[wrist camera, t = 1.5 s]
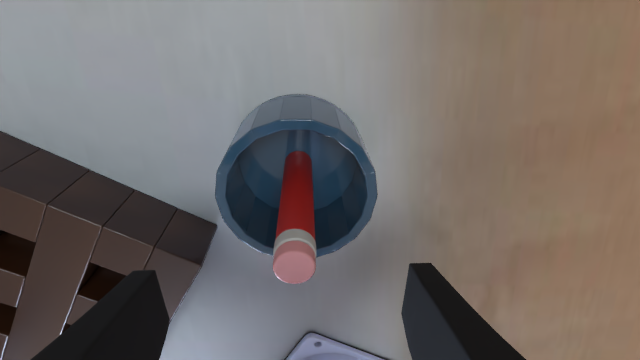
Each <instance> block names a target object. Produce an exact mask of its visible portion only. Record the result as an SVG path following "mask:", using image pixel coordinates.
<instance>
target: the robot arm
mask: <svg viewBox="0 0 640 360" xmlns="http://www.w3.org/2000/svg"><path fill="white" fill-rule="evenodd" d="M401 314H402V319H403V324H404V328H405V333H406V338H407V342H408V347H409V350H410V353H411V357H412V360H526V359H525V358H524V357H523V356H521V355H520V354H519V353H518V352H517V351H516V350H515V349H514V348H513V347H512V346H511V345H510V344H509V343H507V342H506V341H505V340H504V339H503V338H502V337H501V336H500V335H499V334H498V333H497V332H496V331H495V330H494V329H493V328H492V327H491V326H490V325H489V324H488V323H487V322H486V321H485V320H484V319H483V318H482V317H481V316H480V315H479V314H478V313H477V312H476V311H475V310H474V309H473V308H472V307H471V306H470V305H469V304H468V303H467V302H466V301H465V300H464V298H463V297H462V296H461V295H460V294H459V293H458V292H457V291H456V290H455V289H454V288H453V287H452V286H451V284H450V283H449V282H448V281H447V280H446V279H445V278H444V277H443V276H442V275H441V274H440V272H439V271H438V270H437V269H436V268H435V267H434V266H433V265H432V264H431V263H411V264H409V270H408V276H407V282H406V289H405V295H404V301H403V307H402V313H401ZM169 322H170V319H169V315H168V312H167V309H166V305H165V302H164V298H163V295H162V292H161V288H160V285H159V281H158V278H157V275H156V271H155V270H137V271H132V272H131V273H130V274H129V275H127V276H126V277H125V278H124V279H123V280H122V281H121V282H119V283H118V284H117V285H116V286H115V287H114V288H113V289H112V290H111V291H109V292H108V293H107V294H106V295H105V296H104V297H103V298H102V299H101V300H99V301H98V302H97V303H96V304H95V305H94V306H93V307H92V308H91V309H89V310H88V311H87V312H86V313H85V314H84V315H83V316H81V317H80V318H79V319H78V320H77V321H76V322H75V323H73V324H72V325H71V326H70V327H69V328H68V329H67V330H65V331H64V332H63V333H62V334H61V335H60V336H58V337H57V338H56V339H55V340H54V341H52V342H51V343H50V344H49V345H48V346H46V347H45V348H44V349H43V350H41V351H40V352H39V353H38V354H37V355H35V356H34V357H33V358H32V359H30V360H159V358H160V355H161V351H162V348H163V345H164V341H165V338H166V334H167V330H168V326H169ZM286 360H384V359H382V358H379V357H376V356H374V355H371V354H368V353H366V352H363V351H360V350H358V349H355V348H352V347H350V346H347V345H344V344H342V343H339V342H336V341H334V340H331V339H328V338H326V337H323V336H320V335H318V334H315V333H309V334H307V335H306V336H305V337H304V338H303V339H302V340H301V342H300V343H299V344H298V345H297V346H296V348H295V349H294V350H293V351H292V352H291V354H290V355H289V356H288V357H287V358H286Z"/></svg>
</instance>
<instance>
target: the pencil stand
mask: <svg viewBox="0 0 640 360" xmlns="http://www.w3.org/2000/svg"><path fill="white" fill-rule="evenodd" d="M216 228H217V225H215V224H213V223H210V222H208V221H206V220H203V219H201V218H199V217H197V216H194V215H192V214H190V213H187V212H185V211H183V210H180V209H177V208H176V207H174V206H171V205H169V204H167V203H164V202H162V201H160V200H157V199H155V198H153V197H150V196H148V195H146V194H144V193H141V192H139V191H137V190H135V191H134V189H132V188H129V187H127V186H125V185H123V184H120V183H118V182H116V181H113V180H111V179H109V178H106V177H104V176H102V175H99V174H97V173H95V172H92V171H89V169H86V168H84V167H82V166H79V165H77V164H75V163H72V162H70V161H68V160H65V159H63V158H61V157H59V156H56V155H54V154H52V153H49V152H47V151H45V150H42V149H39V148H37V147H35V146H33V145H30V144H28V143H26V142H23V141H21V140H19V139H16V138H14V137H12V136H10V135H7V134H5V133H3V132H0V360H30V359H32V358H33V357H34V356H35V355H37V354H38V353H39V352H40V351H41V350H43V349H44V348H45V347H46V346H48V345H49V344H50V343H51V342H52V341H54V340H55V339H56V338H57V337H58V336H60V335H61V334H62V333H63V332H64V331H65V330H67V329H68V328H69V327H70V326H71V325H72V324H73V323H75V322H76V321H77V320H78V319H79V318H80V317H81V316H83V315H84V314H85V313H86V312H87V311H88V310H89V309H91V308H92V307H93V306H94V305H95V304H96V303H97V302H98V301H99V300H101V299H102V298H103V297H104V296H105V295H106V294H107V293H108V292H109V291H111V290H112V289H113V288H114V287H115V286H116V285H117V284H118V283H119V282H121V281H122V280H123V279H124V278H125V277H126V276H127V275H129V274H130V273H131V272H132V271H137V270H155V271H156V275H157V278H158V281H159V285H160V288H161V292H162V295H163V298H164V302H165V305H166V309H167V312H168V315H169V319H170V322H171V320H172V318H173V316H174V315H175V313H176V311H177V309H178V307H179V306H180V304H181V302H182V300H183V299H184V297H185V295H186V293H187V292H188V290H189V288H190V286H191V285H192V283H193V281H194V279H195V278H196V276H197V274H198V272H199V271H200V269H201V267H202V265H203V262H204V260H205V257H206V254H207V252H208V249H209V247H210V244H211V241H212V239H213V236H214V234H215V231H216ZM170 322H169V323H170Z"/></svg>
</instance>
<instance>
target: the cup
mask: <svg viewBox="0 0 640 360" xmlns="http://www.w3.org/2000/svg"><path fill="white" fill-rule="evenodd" d="M294 151H302V152H305V153H307V154H308V155H309V156H310V158H311V160H312V177H313V200H314V223H315V242H316V257H319V256H322V255H326V254H329V253H332V252H335V251H337V250H338V249H340V248H341V247H343V246H344V245H346V244H348V243H349V242H351V241H352V240H354V239H355V238H356V237H357V236H358V234H359V233H360V232H361V231H362V229H363V228H364V227H365V225H366V224H367V223H368V222H369V220H370V218H371V216H372V213H373V209H374V206H375V203H376V200H377V195H378V194H377V184H376V174H375V169H374V167H373V165H372V162H371V160H370V157H369V155H368V152H367V150H366V147H365V145H364V142H363V140H362V138H361V136H360V134H359V132H358V130H357V128H356V126H355V125H354V123H353V122H352V120H351V119H350V118H349V117H348V116H347V115H346V114H345V113H344V112H343V111H342V110H341V109H340V108H338V107H337V106H335V105H334V104H332V103H330V102H328V101H326V100H324V99H321V98H318V97H315V96H310V95H301V94H293V95H285V96H279V97H276V98H273V99H270V100H268V101H266V102H264V103H262V104H261V105H259V106H258V107H256V108H255V109H254V110H253V111H252V112H251V113H249V114H248V116H247V117H246V118H245V119H244V120H243V122H242V123H241V125H240V127H239V128H238V130H237V132H236V134H235V136H234V138H233V140H232V142H231V144H230V146H229V148H228V150H227V152H226V154H225V156H224V158H223V160H222V162H221V164H220V166H219V168H218V170H217V173H216V189H215V198H216V201H217V204H218V207H219V210H220V212H221V215H222V218H223V220H224V222H225V223H226V224H227V225H228V227H229V228H230V229H231V230H232V231H233V233H234V234H235V235H236V236H237V237H238V239H240V240H241V241H243V242H244V243H246V244H247V245H249V246H251V247H252V248H254V249H256V250H257V251H259V252H261V253H264V254H268V255H271V256H273V251H274V243H275V239H276V231H277V223H278V214H279V206H280V198H281V189H282V181H283V173H284V165H285V159H286V157H287V156H288V155H289V154H290V153H292V152H294Z"/></svg>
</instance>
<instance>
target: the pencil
mask: <svg viewBox="0 0 640 360" xmlns="http://www.w3.org/2000/svg"><path fill="white" fill-rule="evenodd" d="M273 257H274V261H273V270H274V273H275V275H276V276H277V277H278V278H279V279H280V280H282V281H284V282H286V283H291V284H298V283H302V282H305V281H307V280H308V279H310V278H311V277H312V275H313V274H314V272H315V269H316V261H315V259H316V242H315V223H314V200H313V177H312V160H311V158H310V156H309V155H308V154H307V153H305V152H302V151H294V152H292V153H290V154H289V155H288V156H287V157H286V159H285V165H284V173H283V181H282V189H281V198H280V206H279V214H278V223H277V231H276V239H275V243H274V251H273Z"/></svg>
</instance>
